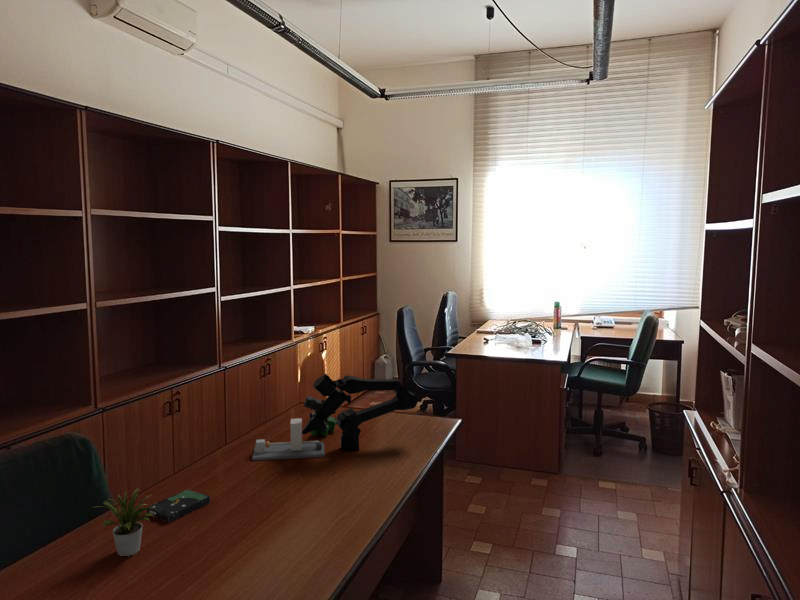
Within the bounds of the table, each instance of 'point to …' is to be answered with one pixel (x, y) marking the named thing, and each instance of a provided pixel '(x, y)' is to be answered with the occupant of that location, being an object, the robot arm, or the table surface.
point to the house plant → (128, 524)
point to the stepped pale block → (296, 434)
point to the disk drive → (179, 505)
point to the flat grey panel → (287, 450)
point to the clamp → (330, 427)
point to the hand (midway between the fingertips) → (302, 433)
